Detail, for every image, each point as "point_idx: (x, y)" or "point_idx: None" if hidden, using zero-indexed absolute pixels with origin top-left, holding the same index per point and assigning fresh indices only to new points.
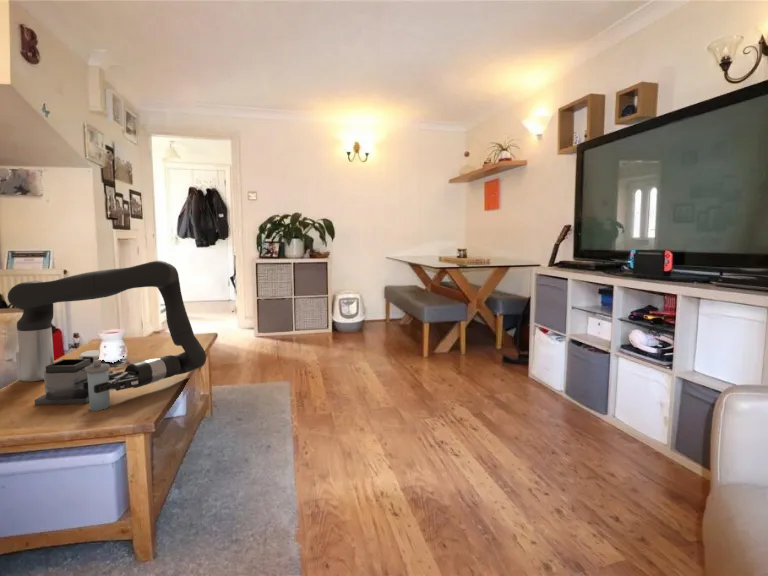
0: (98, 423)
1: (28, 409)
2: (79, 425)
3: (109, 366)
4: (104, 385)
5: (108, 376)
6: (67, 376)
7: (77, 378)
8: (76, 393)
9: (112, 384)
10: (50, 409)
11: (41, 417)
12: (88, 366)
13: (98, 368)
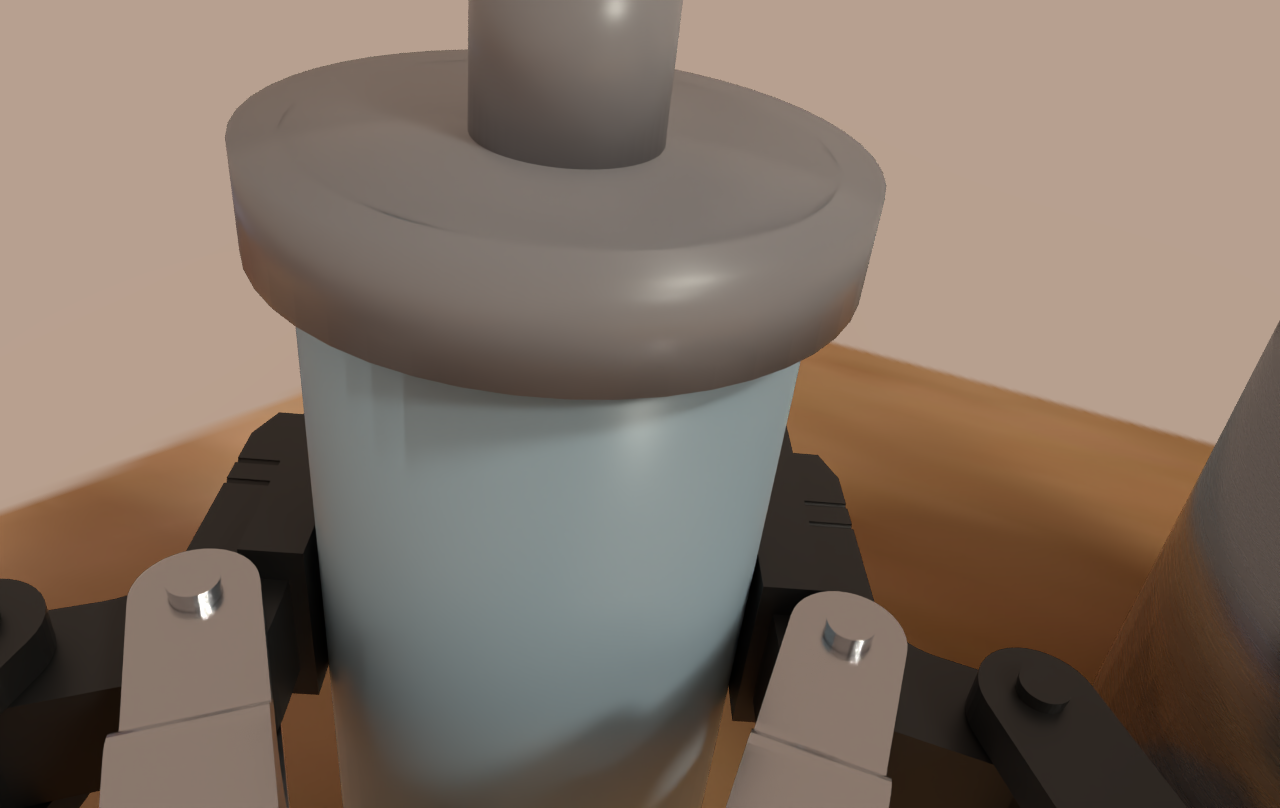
0: (17, 555)
1: (1171, 522)
2: (215, 474)
3: (304, 257)
4: (230, 484)
5: (381, 547)
6: (1250, 383)
7: (1247, 539)
8: None
9: (124, 610)
10: (1009, 590)
11: None
12: (773, 113)
13: (338, 78)
